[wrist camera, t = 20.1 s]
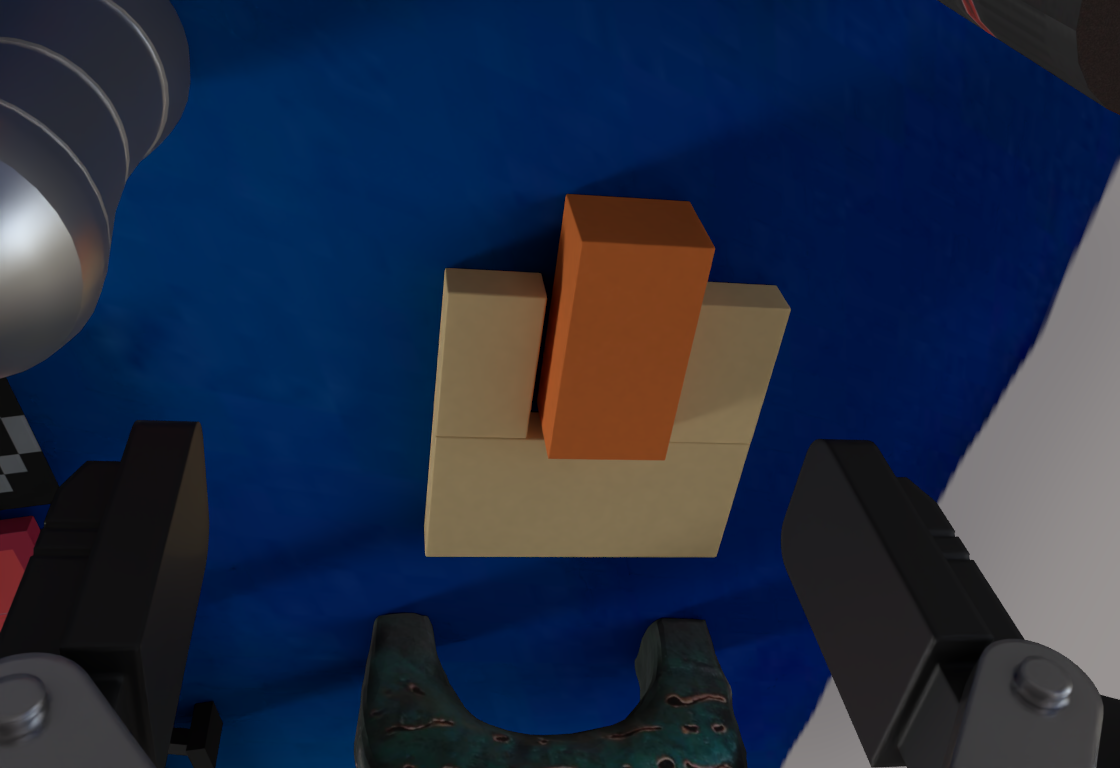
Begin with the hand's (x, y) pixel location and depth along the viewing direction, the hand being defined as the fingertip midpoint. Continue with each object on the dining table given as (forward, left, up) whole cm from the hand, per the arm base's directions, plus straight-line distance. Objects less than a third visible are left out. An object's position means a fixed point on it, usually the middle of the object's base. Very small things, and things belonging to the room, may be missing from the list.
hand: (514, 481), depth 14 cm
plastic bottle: (-11, -3, -26) cm, 29 cm away
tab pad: (+8, -12, -26) cm, 30 cm away
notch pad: (+8, -18, -26) cm, 33 cm away
